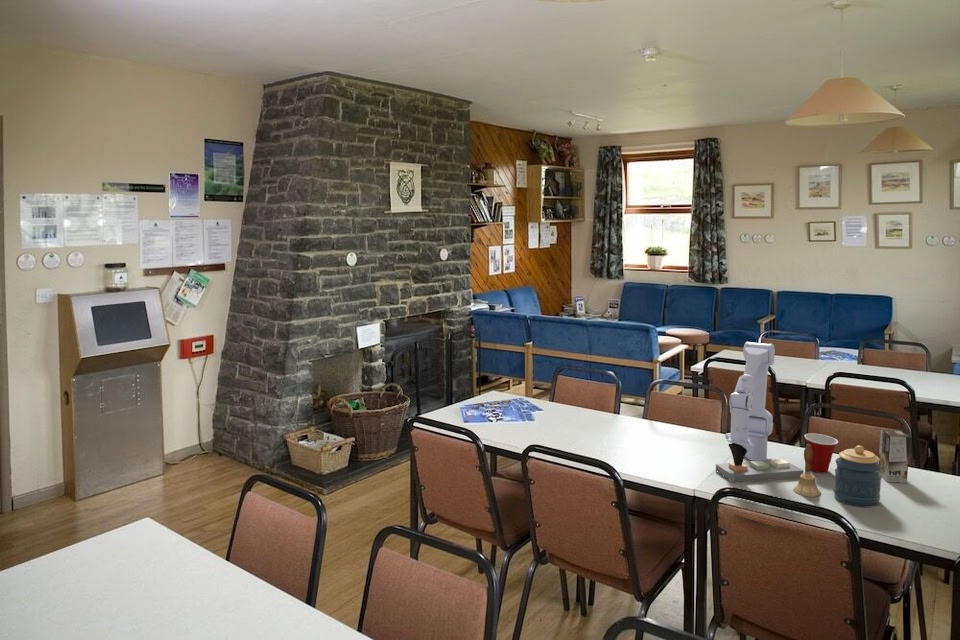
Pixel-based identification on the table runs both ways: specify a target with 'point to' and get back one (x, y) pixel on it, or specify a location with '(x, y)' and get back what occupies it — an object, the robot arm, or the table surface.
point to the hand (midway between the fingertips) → (738, 464)
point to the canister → (858, 477)
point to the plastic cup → (821, 451)
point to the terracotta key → (737, 467)
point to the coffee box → (894, 455)
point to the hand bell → (807, 477)
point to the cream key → (779, 463)
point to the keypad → (759, 472)
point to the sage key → (759, 465)
